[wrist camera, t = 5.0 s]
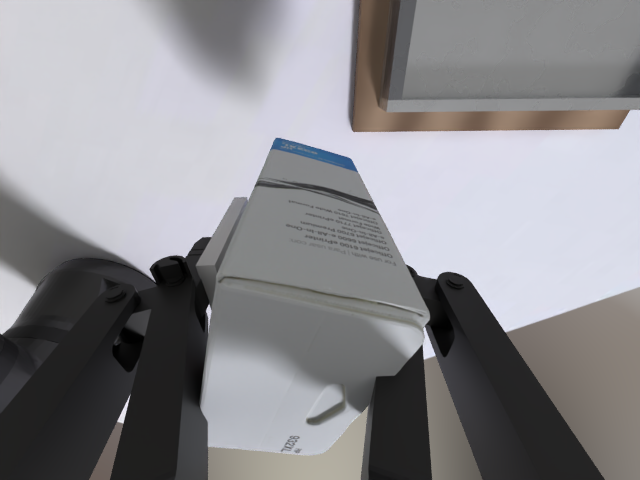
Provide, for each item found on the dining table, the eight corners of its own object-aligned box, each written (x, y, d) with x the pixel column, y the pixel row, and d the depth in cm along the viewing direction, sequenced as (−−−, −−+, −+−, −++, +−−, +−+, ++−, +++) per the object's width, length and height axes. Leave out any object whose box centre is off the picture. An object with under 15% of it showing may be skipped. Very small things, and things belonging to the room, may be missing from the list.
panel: (352, 129, 23) (353, 131, 23) (369, -170, 14) (373, -184, 14) (607, 126, 24) (618, 129, 23) (781, -170, 15) (809, -185, 14)
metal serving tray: (378, 107, 22) (386, 112, 19) (403, -125, 15) (421, -165, 12) (633, 104, 22) (674, 109, 19) (774, -126, 15) (865, -165, 12)
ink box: (274, 132, 14) (204, 272, 4) (356, 159, 15) (448, 320, 5) (249, 251, 18) (186, 453, 9) (313, 265, 20) (322, 460, 10)
